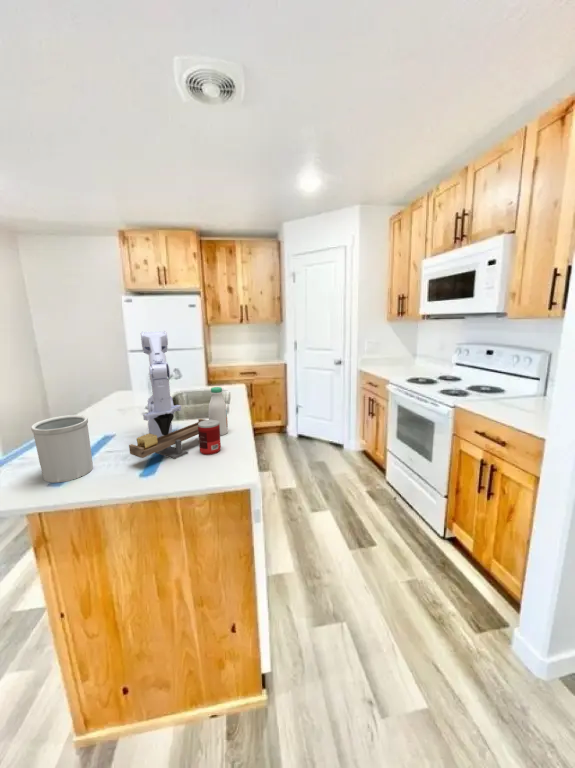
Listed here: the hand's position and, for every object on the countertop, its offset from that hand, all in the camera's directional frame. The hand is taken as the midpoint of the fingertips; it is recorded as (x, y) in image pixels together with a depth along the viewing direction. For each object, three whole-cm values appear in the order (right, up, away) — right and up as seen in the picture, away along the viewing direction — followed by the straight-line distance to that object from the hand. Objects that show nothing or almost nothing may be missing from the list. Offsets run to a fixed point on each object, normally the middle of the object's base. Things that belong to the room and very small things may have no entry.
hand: (165, 434), depth 120 cm
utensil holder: (-27, -11, -12) cm, 32 cm away
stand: (+1, -7, +3) cm, 8 cm away
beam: (+2, -3, +4) cm, 5 cm away
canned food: (+15, -7, +5) cm, 17 cm away
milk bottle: (+14, -3, +24) cm, 28 cm away
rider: (-4, -4, -6) cm, 8 cm away
